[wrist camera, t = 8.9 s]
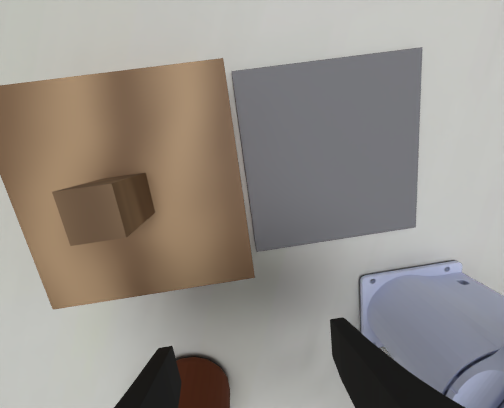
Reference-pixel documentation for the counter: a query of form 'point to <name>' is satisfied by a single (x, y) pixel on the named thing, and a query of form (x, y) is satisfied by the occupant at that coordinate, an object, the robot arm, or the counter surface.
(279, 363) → the counter surface
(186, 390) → the bottle
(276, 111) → the mat
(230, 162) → the lid
